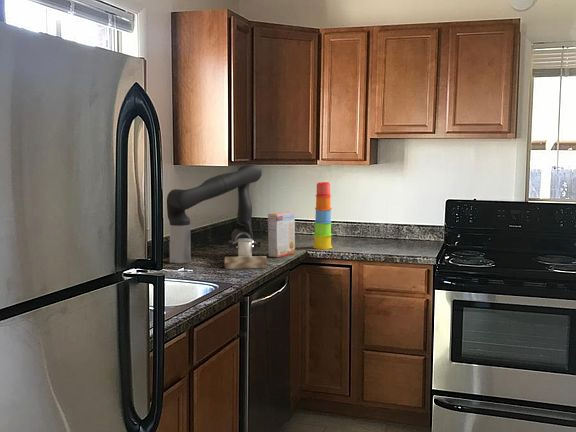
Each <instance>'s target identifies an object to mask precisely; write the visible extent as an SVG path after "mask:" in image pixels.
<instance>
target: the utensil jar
mask: <svg viewBox="0 0 576 432" xmlns="http://www.w3.org/2000/svg"><path fill="white" fill-rule="evenodd" d="M252 253H253V248H252V239H250V238H240V239H238V248H237V257H251V256H253V254H252Z"/></svg>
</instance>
